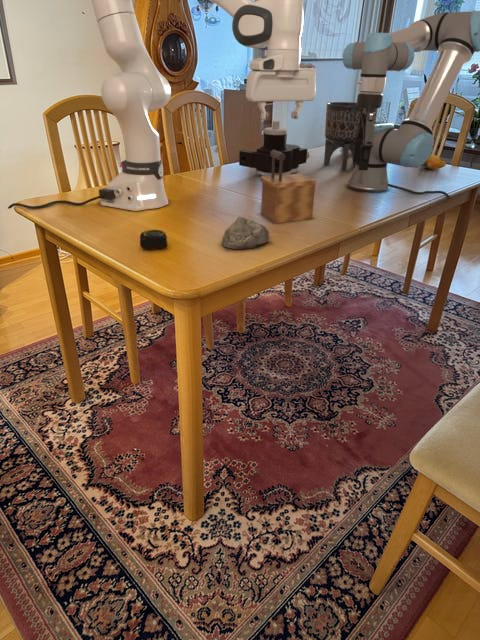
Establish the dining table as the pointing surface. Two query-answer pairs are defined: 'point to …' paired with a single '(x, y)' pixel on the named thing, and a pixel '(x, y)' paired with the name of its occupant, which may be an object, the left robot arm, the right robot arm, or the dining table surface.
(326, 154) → the planter
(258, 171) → the mechanical component
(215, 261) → the dining table surface
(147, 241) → the tape measure
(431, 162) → the toy
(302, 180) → the lid
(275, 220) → the chest
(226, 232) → the rock
